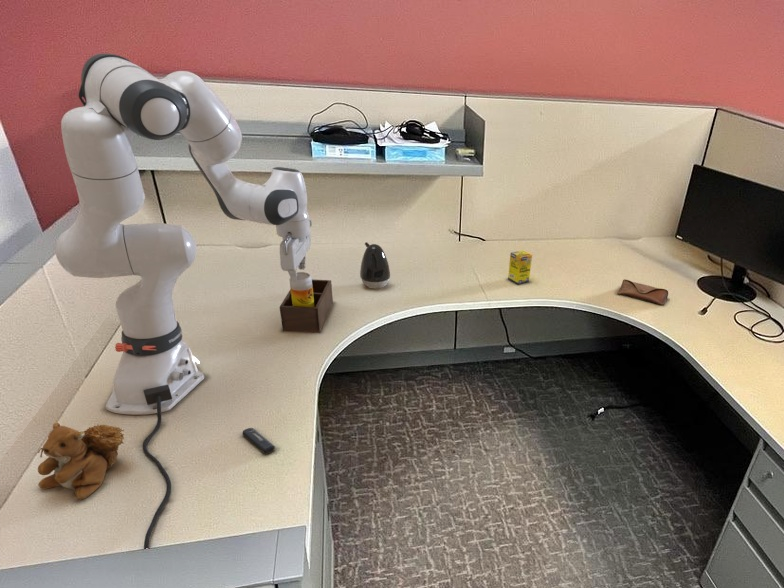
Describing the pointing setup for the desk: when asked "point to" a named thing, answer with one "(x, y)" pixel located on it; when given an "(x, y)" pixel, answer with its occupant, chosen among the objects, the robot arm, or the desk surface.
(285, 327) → the box
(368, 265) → the black egg-shaped figure
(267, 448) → the usb stick
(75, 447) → the stuffed squirrel
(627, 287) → the sunglasses case
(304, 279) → the beer can
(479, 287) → the desk surface
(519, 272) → the supplement box
